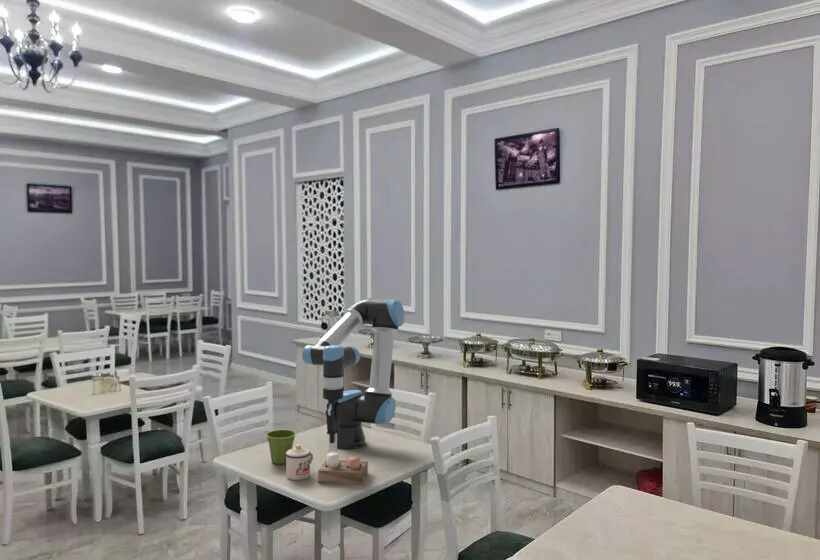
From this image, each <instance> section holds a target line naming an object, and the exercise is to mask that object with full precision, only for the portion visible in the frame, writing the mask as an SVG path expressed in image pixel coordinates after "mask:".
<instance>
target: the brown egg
mask: <svg viewBox="0 0 820 560" xmlns="http://www.w3.org/2000/svg"><path fill="white" fill-rule="evenodd" d="M347 460H348V468H350V469H360V461H361V457H360V456H357V455H356V456H355V455H352V456H349V457H348V458H347Z"/></svg>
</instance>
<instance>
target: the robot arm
mask: <svg viewBox="0 0 820 560" xmlns="http://www.w3.org/2000/svg"><path fill="white" fill-rule="evenodd" d="M404 322H405V310H404V306H403V304H402V303H401V302H400V301H399V300H397V299H392V298H364V299H361V300H359V301H356V302H355V303H354V304H352V305H351V306H349V307H348V308H346V309H345V311H344V312H343V314H342V317H341V318H340V319H339V320H338V321H337V322H336V323H335V324H334V325H333V326H332V327H331V328H330V329H329V330H328V331H327V332H326V333H325V334H324V335H323V336H322V337H321V338H320V339H319V340H318V341H317V342H316V343H315V344H307V345H305V346H304V347H303V348H302V352H301V357H302V361H303V362H304V363H305V364H306V365H313V366H322V368H323V369H322V372H323V373H322V378H321V381H322V386H323V387H324V388H323V389H322V398H323V399H324V400H327V401H328V402H327V403H326V410H325V415H326V435H328V452H334V453H337V450H338V449H341V450H352V449H359V448H362V447H364V446H365V445H366V440H367V439H366V436H365V433H364V430H363V425H362V423H365V424H372V425H377V426H378V425H379V426H380V425H383V426H385V425H388V424H390V422H391V421H392V419H394V416H395V412H396V409H397V408H396V407H397V403H396V399H395V398H393V393H392V392H391V390H390V381H391V380H390V379H391V371H392V362H393V351H394V341H395V334H396V333H398V331H399V327H402V326H403V325H404ZM363 325H372V326H371V329H372V330H373V331H374V336H373V337H374V339H373V345H372V346H373V348H372V358H371V366H370V377H369V386H368V388H366V390H365V391H364V394H363V392H362V390H359V389H351V390H350V389H349V390H345V391H344V388H343V387H344V369H347V368H349V367H353V366H355V365H357V364H358V363H359V362H360V359H361V354H360V351H359V349H357V347H354V346H345V347H344V346H342V344H343V343H344V342H345V340H346V339H347V338H348V337H349V336H350V335H351V334H352V333H353V332H354V331H355V330H356V329H359V328H360V327H362V326H363Z"/></svg>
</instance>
